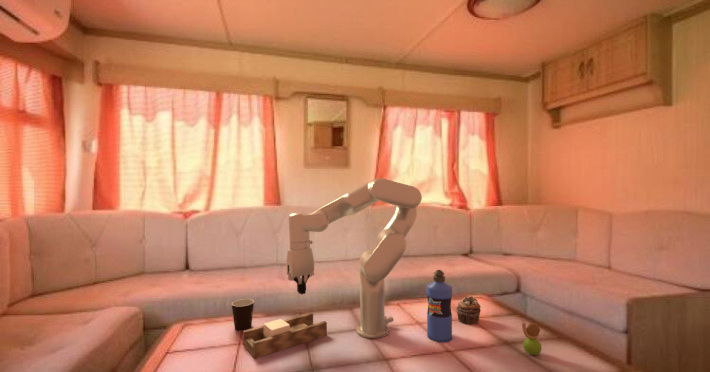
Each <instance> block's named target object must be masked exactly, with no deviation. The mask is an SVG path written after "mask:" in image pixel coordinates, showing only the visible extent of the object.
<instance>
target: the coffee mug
mask: <svg viewBox="0 0 710 372" xmlns="http://www.w3.org/2000/svg"><path fill="white" fill-rule="evenodd" d="M254 304H255V300H254V299H251V298H242V299H237V300H235V301H232V302H231V309H232V310H231V311H232V316H233V325H234V330H236V331H242V332H243V331H245V330H249V329H252V323H253V314H254V307H255V306H254Z"/></svg>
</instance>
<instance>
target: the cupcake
mask: <svg viewBox="0 0 710 372" xmlns="http://www.w3.org/2000/svg"><path fill="white" fill-rule="evenodd" d="M457 305H458V306H456V309H455V310H456V314H457V319H458V322H459V323H461V324H463V325H466V326H474V325H478V324H479V319H480V315H481V305H480V303H479V302H478V299H476V298H474V297H473V296H470V297H468V296H464V298H462V299H461V300H460V301H459V302H458V303H457Z"/></svg>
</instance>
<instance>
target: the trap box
mask: <svg viewBox="0 0 710 372" xmlns="http://www.w3.org/2000/svg"><path fill="white" fill-rule="evenodd" d="M283 320H284V321H285V322H287V323H288V324H289V325H290V331H289V332H285V333H282V334H279V335H275V336H272V337H268V338H267V337H266V336H265V335H264V325H261V326H258V327H251V328H249V329H247V330H243V331H242V345H243V346H244V348H245V349H246V350H247V352H248V353H249V354H250V355H251V356H252V357H253V358H254V359H258V358H261V357H265V356H267V355H270V354H273V353H277V352H280V351H283V350H286V349H289V348H292V347H296V346H298V345H301V344H304V343H308V342H311V341H313V340H317V339H320V338H323V337H326V336H328V329H327V328H328V323H327V321H325V320H324V321H320V322H316V323H314V313H313V312H309V313H305V314H301V315H297V316H294V317H290V318H286V319H283Z"/></svg>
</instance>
